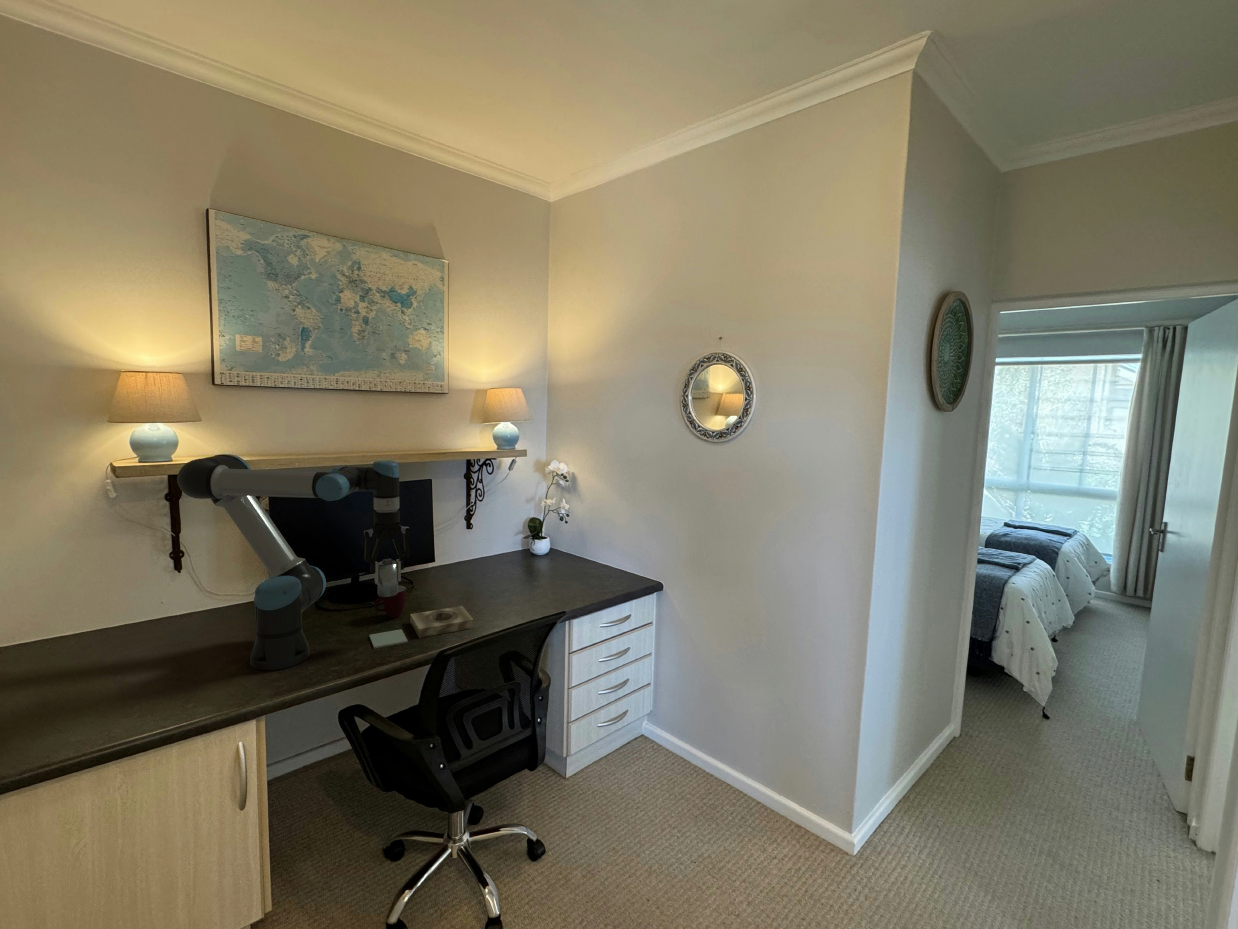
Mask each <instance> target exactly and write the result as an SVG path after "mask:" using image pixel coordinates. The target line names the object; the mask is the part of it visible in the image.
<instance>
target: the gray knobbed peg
mask: <svg viewBox="0 0 1238 929" xmlns="http://www.w3.org/2000/svg"><path fill="white" fill-rule="evenodd" d="M377 563H378V584H377V596H379V597H390V596H394V595H396V594H398V585H399V581H398V562H397V560H393V558H385V559H382V560H381V561H379V562H377Z"/></svg>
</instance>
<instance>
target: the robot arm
mask: <svg viewBox="0 0 1238 929" xmlns="http://www.w3.org/2000/svg"><path fill="white" fill-rule="evenodd" d="M399 469H400V468H399V463H398V462H397V461H395V460H387V459H386V460H376V461H374V462H373V463H372V466H368V467H367V466H365V467H364V466H363V467H362V466H348V465H344V466H335V467H334V468H333V469H332V470H331V471H330V472H329V471H300V470H278V469H277V470H274V469H251V466H250V465H249V463H248V462H247V461H246V460H245V459H244V458H242V457H240V456H238V455H235V454H230V453H229V454H224V453H222V454H216V455H215V454H214V455H213V456H212V455H211V456H207V457H202V458H197V459H192V460H190V461H188V462H186V463H185V464H183V466H182V467H181V468H180V469H179V471H178V474H177V478H176V480H177V485H178V488H179V489H180V491H182V493H184V495H186V496H187V497H190V498H193V499H199V500H200V499H201V500H205V499H210V501H211V502H212V503H213V505H214V506H215V507H220V508H223V509H224V510H225V511H226V513H227V514H228V515H229V517H230V519H231V520H232V521H233V523H234V524H235V525H236V527H237V528H238V530H239V531H240V533H241V534H242V535H243V537H244V539H245V540H246V541H247V543H248V544H249V545H250V547H251V548H252V550H253V551H254V553H255V554H256V555H257V557H258V558H259V559H260V561H261V563H263V566H264V567H265V568H266V569H267V571H268V573H269V575H268V579H266V580H264V581H262V582H260V583H259V584H258V585H257V586H256V587H255V591H254V597H253V603H254V615H255V632H256V634H255V636H256V638H255V641H254V643H253V647H252V650H251V653H250V655H249V656H250V657H249V661H250V662H249V663H250V666H251V667H252V668H253V669H255V670H259V671H277V670H284V669H287V668H290V667H294V666H296V665H299V664H301V663H303V662H304V661H306V660H307V659H308V658H309V657H310V655H311V654H310V651H311V650H310V645H309V642H308V640H307V638H306V635H305V634H304V631H303V612H304V611H306V610H307V609H308V608H309V607H310V606H311V605H313V604H315V603H317V601H319V600H320V598H321V597H322V595H323V594H324V592H325V590H326V586H327V581H326V577H325V574H324V572H323V571H322V570H321V569H320V568H318V567H317V566H314V565H310V564H309V563H308V561H307V559H306V558H303V557H298V556H297V555H296V554H295V552H294V550H293V548H292V547H291V546H290V545H289V543H288V542H287V540H286V539H285V537H284V536H283V535H282V533H281V532H280V530H279V529H278V527H277V526H276V524H275V523H274V521H273V520H272V519H271V517H270V516H269V514H268V513H267V511H266V510H265V509H264V507H263V505H262V504H261V503H260V501H259V499H258V498H257V497H271V498H272V497H277V498H309V499H314V498H316V499H317V498H318V499H322V500H324V501H327V502H332V501H338V500H341V499H343V498H344V497H346V496H349V495H350V494H352V493H355V492H373V510H374V511H373V526H372V528H370V529H365V530H363V536H364V539H365V540H364V554H363V557H364V558H363V559H364V562H365V563H366V564H367V563H369V564H370V572H371V574H374V583H375V585H378V563H379V562H378V561H377V560H378V556H379V553H380V549H381V546H382V544H383V542H384V541H386V540H391V541H392V542H393V544H394V548H395V551H396V553H397V556H398V558H396V561H397V562H398V582H401V581H402V577H401V576H402V574H401V573H402V571H404V570H405V560H406V559H409V558H410V557H411V550H410V538H409V536H410V532H411V529H410V527H409V526H402V525H401V523H400V522H401V521H400V520H401V519H400V514H401V512H400V510H399V509H400V470H399ZM400 531H401V533H402V536H403V549H404V550H403V551H404V553H403V551H402V548H401V546H400V544H399V540H398V536H397V535H398V534H399V533H400ZM373 533H374V534H375V535H376V540H375V544H374V547H373V551H372V554H370V553H371V537H372V536H373ZM370 555H371V556H370Z"/></svg>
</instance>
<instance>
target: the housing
mask: <svg viewBox="0 0 1238 929" xmlns="http://www.w3.org/2000/svg"><path fill="white" fill-rule="evenodd" d="M409 617H410V619H409V620H410V625H411V626H412V628H413V630H414V632H415V633H416V635H417V636H418V638H419V639H420V638H426V637H432V636H436V635H442V634H447V633H453V632H454V633H455V632H458V631H459V632H460V631H463V630H465V631H466V630H469V629H474V628H475V627H474V626H475V625H474V623H475V622H474V618H473V617H472V616H471V614H469V612H468V611H467V610H466V608H465V607H463V605H459V606H454V607H445V608H440V609H435V610H429V611H423V612H422V611H421V612H416V613H415V612H414V613H410V615H409Z"/></svg>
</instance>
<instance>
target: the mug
mask: <svg viewBox="0 0 1238 929" xmlns="http://www.w3.org/2000/svg"><path fill="white" fill-rule="evenodd" d="M406 599H407V587H406V586H405V585H404V586H403V585H399V584H398V594H396V595H394V596H390V597H381V596H379V597H378V598H377V599H376V600H375V601H374V604H373V606H374V608H375V610H376V611H378V612H384V613H385V614H386V615H387V617H388V618H390V619H397V618H399V617H401V616H402V613H403V612H404V610H405V605H406ZM381 601H382V604H383V608H379V607H378V603H379V602H381Z"/></svg>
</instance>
